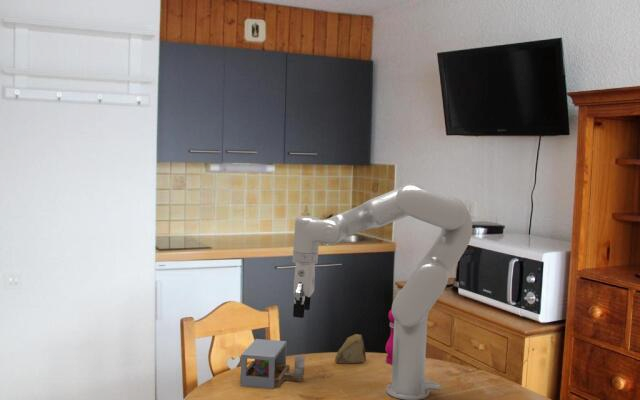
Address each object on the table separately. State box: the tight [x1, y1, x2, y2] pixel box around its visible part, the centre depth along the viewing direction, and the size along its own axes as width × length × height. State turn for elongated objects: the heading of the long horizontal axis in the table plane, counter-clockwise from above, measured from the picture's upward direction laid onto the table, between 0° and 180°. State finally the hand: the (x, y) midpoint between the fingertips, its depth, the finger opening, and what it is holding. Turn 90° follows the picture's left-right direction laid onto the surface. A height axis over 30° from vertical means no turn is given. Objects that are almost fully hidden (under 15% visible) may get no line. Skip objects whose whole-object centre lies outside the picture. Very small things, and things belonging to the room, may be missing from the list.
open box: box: [240, 338, 287, 390], centre depth 208 cm, size 10×17×10 cm, turn 171°
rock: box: [334, 333, 367, 364], centre depth 227 cm, size 11×9×10 cm
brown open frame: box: [239, 354, 305, 387], centre depth 208 cm, size 18×14×7 cm
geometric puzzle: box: [252, 359, 277, 377], centre depth 208 cm, size 7×7×8 cm
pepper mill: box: [384, 308, 395, 365], centre depth 227 cm, size 7×7×20 cm
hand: (301, 313), depth 205 cm, fingers open, 9 cm apart
